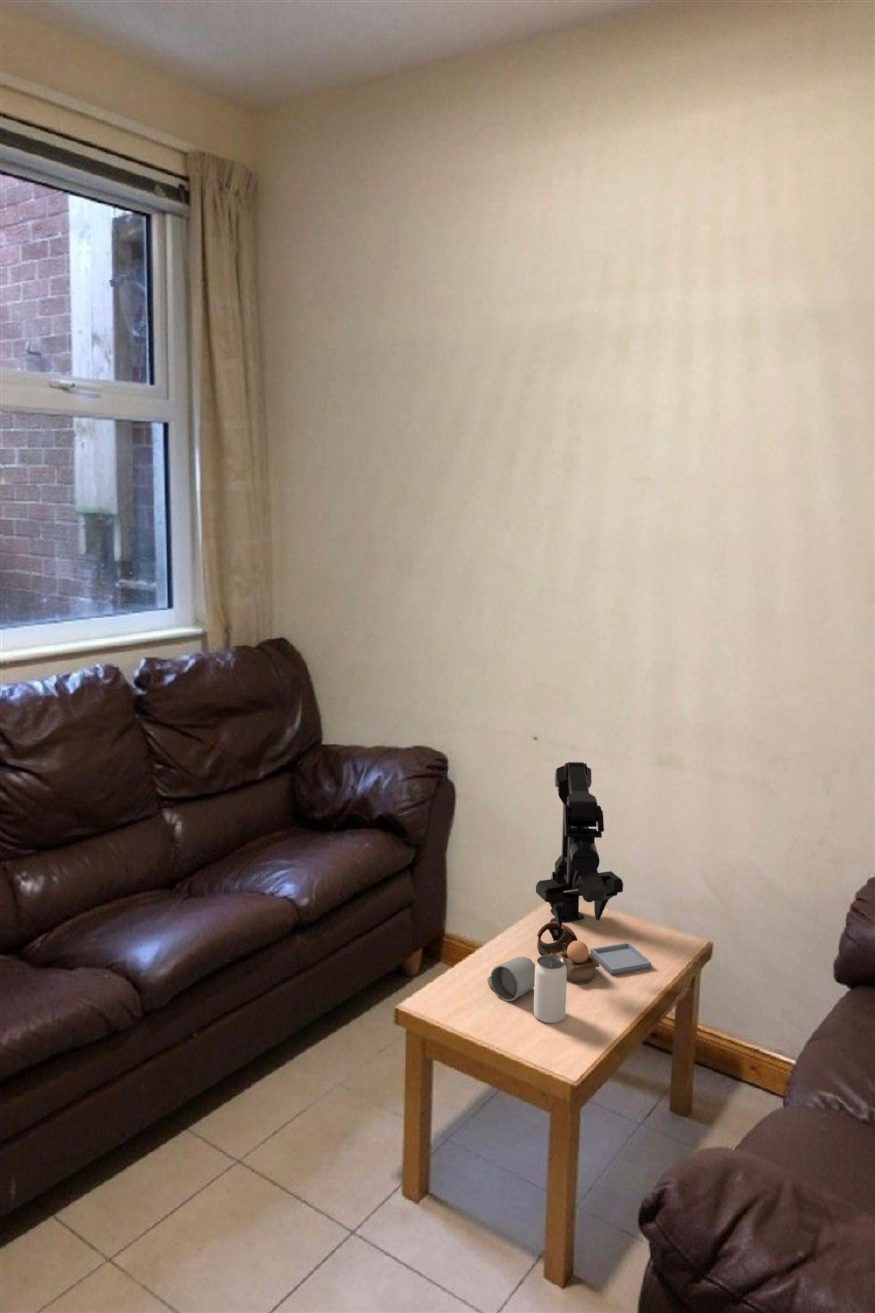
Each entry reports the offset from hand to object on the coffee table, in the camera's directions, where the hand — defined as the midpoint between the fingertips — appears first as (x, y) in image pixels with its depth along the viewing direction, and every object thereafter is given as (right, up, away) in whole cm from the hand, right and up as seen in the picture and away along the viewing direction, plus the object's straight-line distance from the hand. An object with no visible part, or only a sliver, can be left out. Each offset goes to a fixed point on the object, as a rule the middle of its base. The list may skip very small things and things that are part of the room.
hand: (578, 923), depth 205 cm
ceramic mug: (-16, -14, -5) cm, 21 cm away
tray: (+11, -11, +8) cm, 17 cm away
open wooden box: (0, -12, +2) cm, 12 cm away
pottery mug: (-3, -10, +13) cm, 17 cm away
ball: (0, -7, +1) cm, 7 cm away
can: (-8, -15, -14) cm, 22 cm away
